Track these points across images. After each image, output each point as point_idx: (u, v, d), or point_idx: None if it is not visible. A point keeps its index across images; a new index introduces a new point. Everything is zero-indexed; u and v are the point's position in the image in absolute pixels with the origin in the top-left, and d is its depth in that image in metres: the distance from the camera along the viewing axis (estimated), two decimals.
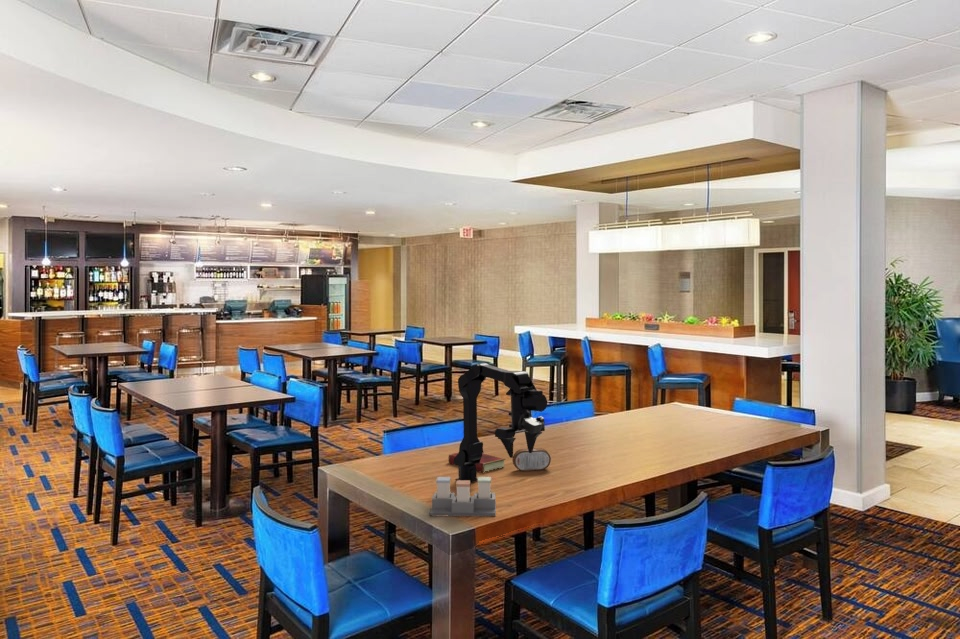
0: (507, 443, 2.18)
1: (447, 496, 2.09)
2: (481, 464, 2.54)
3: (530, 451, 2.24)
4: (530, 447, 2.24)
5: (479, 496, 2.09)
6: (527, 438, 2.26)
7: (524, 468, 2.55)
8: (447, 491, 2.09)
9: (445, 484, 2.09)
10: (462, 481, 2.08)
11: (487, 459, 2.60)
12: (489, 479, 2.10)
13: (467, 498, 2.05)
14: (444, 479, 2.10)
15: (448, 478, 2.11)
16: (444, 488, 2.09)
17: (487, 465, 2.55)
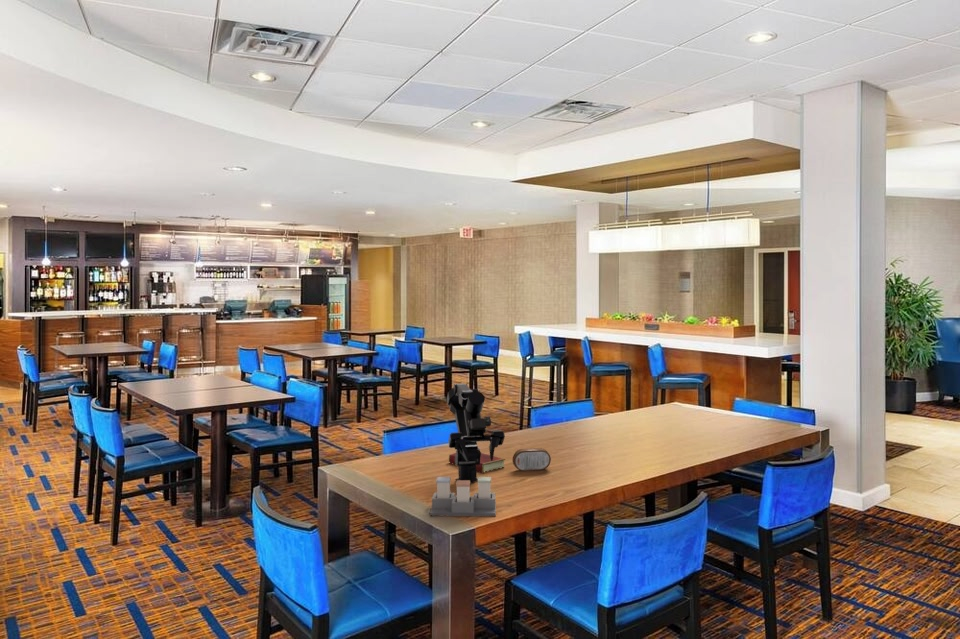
0: (462, 449, 2.21)
1: (447, 496, 2.09)
2: (480, 464, 2.54)
3: (491, 458, 2.20)
4: (490, 454, 2.21)
5: (479, 496, 2.09)
6: (490, 450, 2.24)
7: (524, 468, 2.55)
8: (447, 491, 2.09)
9: (445, 484, 2.09)
10: (462, 481, 2.08)
11: (487, 459, 2.60)
12: (489, 479, 2.10)
13: (467, 498, 2.05)
14: (444, 479, 2.10)
15: (448, 478, 2.11)
16: (444, 488, 2.09)
17: (486, 465, 2.55)
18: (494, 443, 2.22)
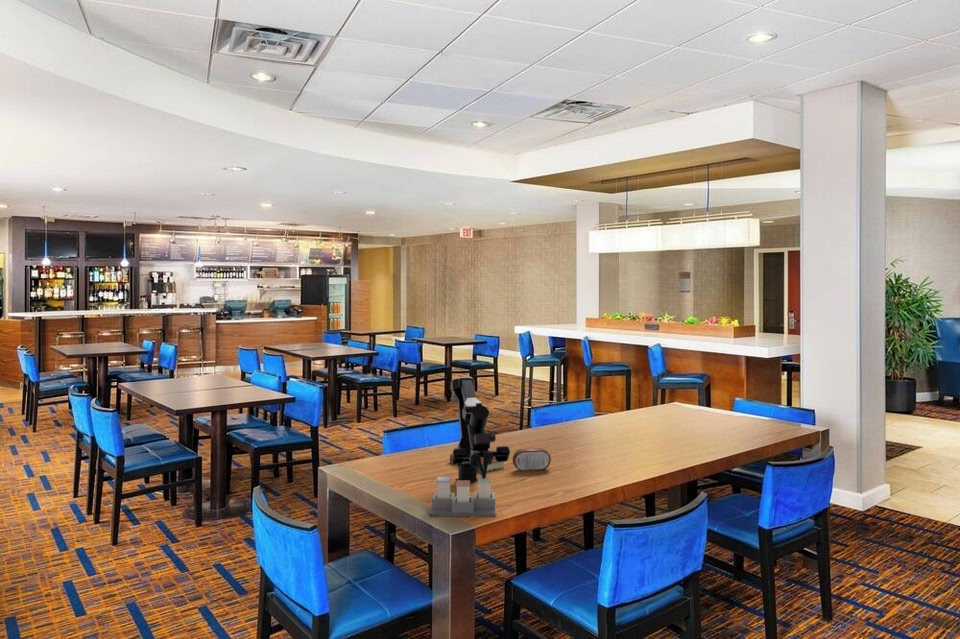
0: (477, 465, 2.14)
1: (447, 496, 2.09)
2: None
3: None
4: None
5: (479, 496, 2.09)
6: (483, 467, 2.15)
7: (524, 468, 2.55)
8: (447, 491, 2.09)
9: (445, 484, 2.09)
10: (462, 481, 2.08)
11: None
12: (489, 479, 2.10)
13: (467, 498, 2.05)
14: (444, 479, 2.10)
15: (448, 478, 2.11)
16: (444, 488, 2.09)
17: None
18: (487, 460, 2.14)
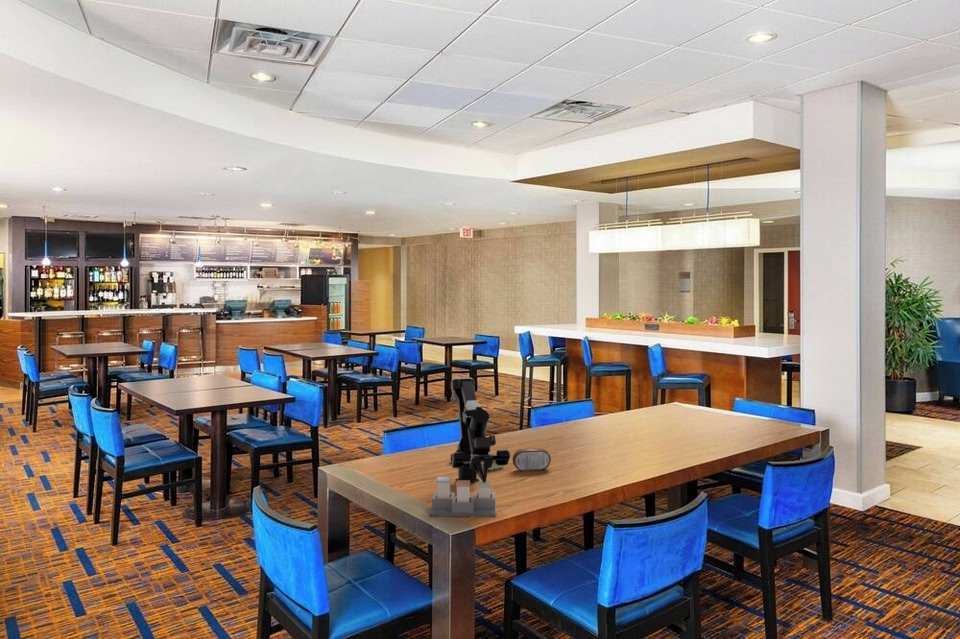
0: (478, 469, 2.14)
1: (447, 496, 2.09)
2: None
3: None
4: None
5: None
6: (483, 470, 2.15)
7: (524, 468, 2.55)
8: (447, 491, 2.09)
9: (445, 484, 2.09)
10: (462, 481, 2.08)
11: None
12: (489, 484, 2.10)
13: (467, 498, 2.05)
14: (444, 479, 2.10)
15: (448, 478, 2.11)
16: (444, 488, 2.09)
17: None
18: (487, 464, 2.13)
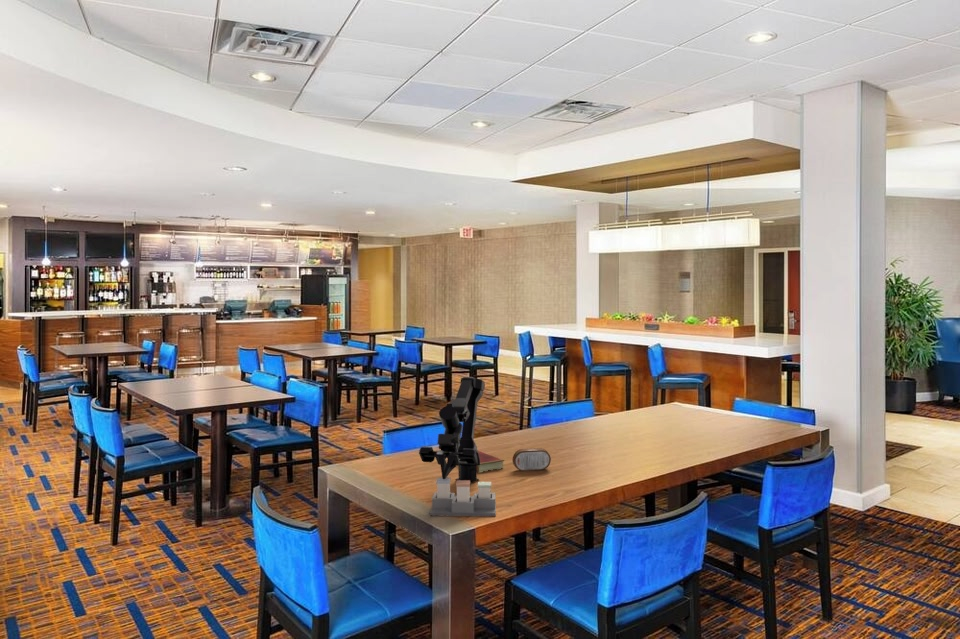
0: None
1: (447, 497, 2.09)
2: None
3: None
4: None
5: None
6: None
7: (524, 468, 2.55)
8: (447, 492, 2.09)
9: (445, 485, 2.09)
10: (462, 481, 2.08)
11: (485, 459, 2.60)
12: (489, 484, 2.10)
13: (467, 498, 2.05)
14: (444, 480, 2.10)
15: (448, 479, 2.11)
16: (444, 489, 2.09)
17: (483, 465, 2.55)
18: (450, 461, 2.13)
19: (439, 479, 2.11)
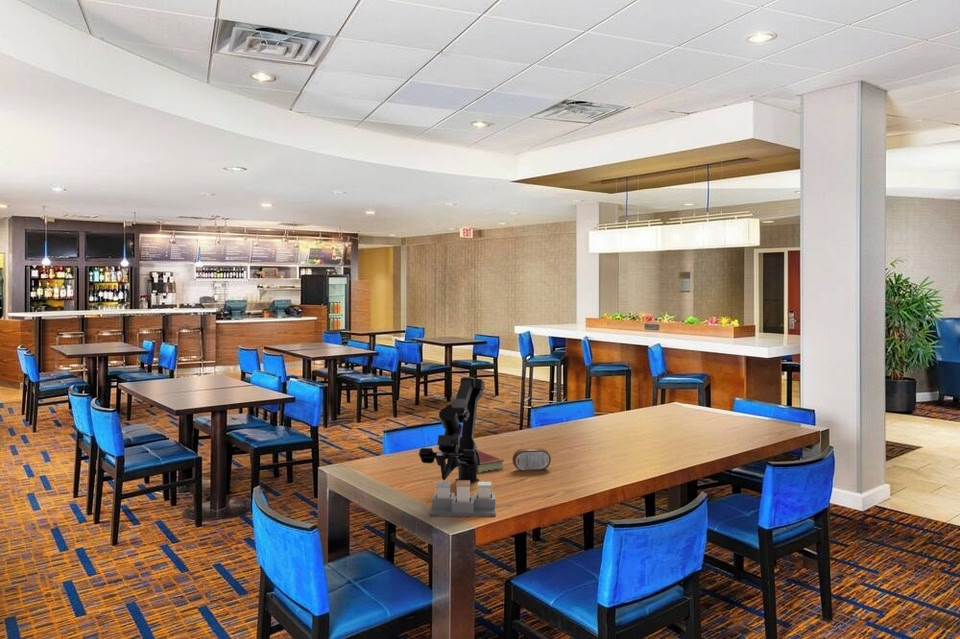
0: None
1: None
2: None
3: None
4: None
5: None
6: None
7: (524, 468, 2.55)
8: (447, 496, 2.09)
9: (445, 489, 2.09)
10: (462, 481, 2.08)
11: (485, 459, 2.60)
12: (489, 484, 2.10)
13: (467, 498, 2.05)
14: (444, 484, 2.10)
15: (448, 483, 2.11)
16: (444, 493, 2.09)
17: (482, 465, 2.55)
18: (450, 462, 2.13)
19: (439, 483, 2.11)
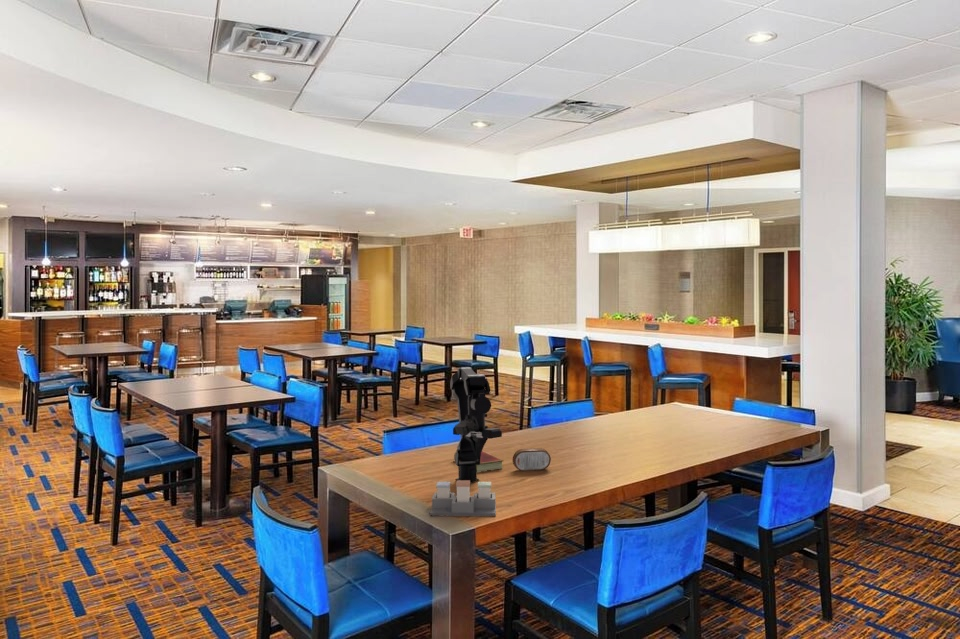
0: None
1: None
2: None
3: None
4: None
5: None
6: None
7: (524, 468, 2.55)
8: (447, 496, 2.09)
9: (445, 489, 2.09)
10: (462, 481, 2.08)
11: (485, 459, 2.59)
12: (489, 484, 2.10)
13: (467, 498, 2.05)
14: (444, 484, 2.10)
15: (448, 483, 2.11)
16: (444, 493, 2.09)
17: (481, 465, 2.55)
18: (477, 442, 2.23)
19: (439, 483, 2.11)
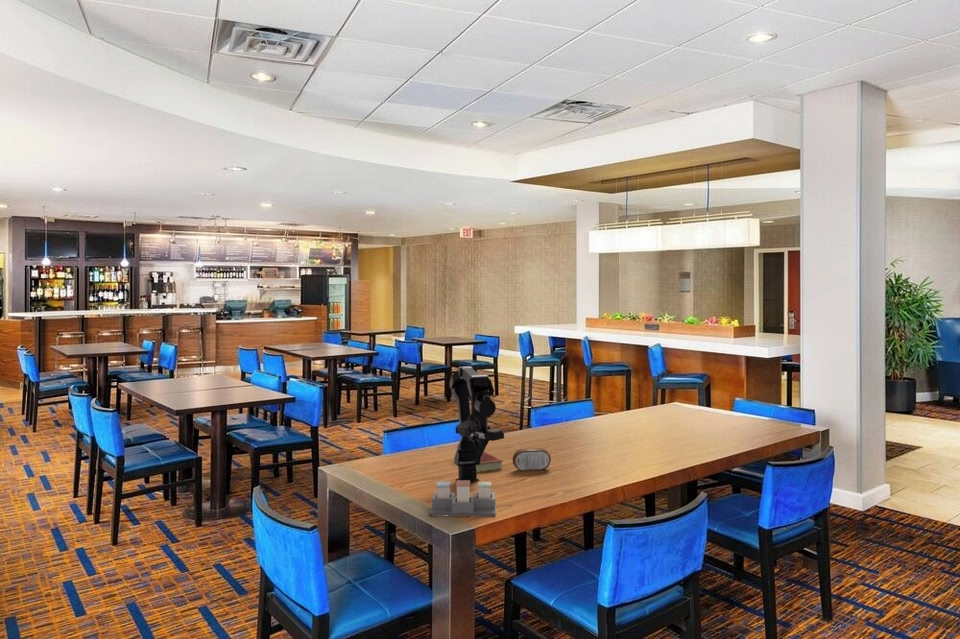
0: None
1: None
2: None
3: None
4: None
5: None
6: None
7: (524, 468, 2.55)
8: (447, 496, 2.09)
9: (445, 489, 2.09)
10: (462, 481, 2.08)
11: (484, 459, 2.59)
12: (489, 484, 2.10)
13: (467, 498, 2.05)
14: (444, 484, 2.10)
15: (448, 483, 2.11)
16: (444, 493, 2.09)
17: (480, 465, 2.55)
18: (479, 442, 2.23)
19: (439, 483, 2.11)
